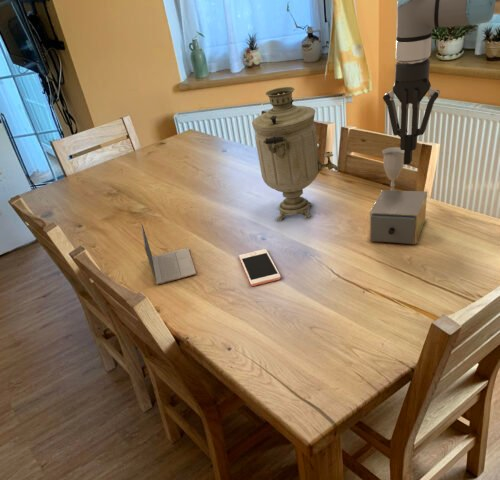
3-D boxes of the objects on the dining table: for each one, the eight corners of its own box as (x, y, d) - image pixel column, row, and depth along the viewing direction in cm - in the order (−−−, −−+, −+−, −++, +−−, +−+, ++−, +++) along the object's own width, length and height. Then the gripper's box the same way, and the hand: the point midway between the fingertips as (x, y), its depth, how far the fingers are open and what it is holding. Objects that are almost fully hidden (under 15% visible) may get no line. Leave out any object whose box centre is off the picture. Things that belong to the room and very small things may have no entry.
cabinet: (415, 244, 146) (417, 214, 140) (369, 241, 151) (369, 212, 145) (425, 220, 156) (427, 191, 150) (381, 218, 162) (382, 190, 156)
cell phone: (266, 251, 156) (265, 248, 155) (281, 279, 142) (281, 276, 141) (239, 257, 155) (238, 255, 154) (251, 286, 141) (251, 284, 140)
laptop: (196, 275, 151) (186, 237, 143) (156, 285, 149) (144, 247, 141) (188, 249, 165) (179, 213, 157) (151, 258, 164) (140, 222, 156)
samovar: (318, 237, 158) (309, 104, 133) (248, 229, 170) (227, 106, 145) (352, 198, 177) (349, 75, 152) (286, 193, 189) (274, 78, 164)
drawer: (412, 245, 144) (413, 221, 139) (369, 242, 149) (369, 218, 144) (421, 221, 154) (423, 197, 150) (381, 218, 159) (382, 195, 155)
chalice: (407, 202, 168) (409, 148, 157) (396, 210, 165) (398, 156, 154) (388, 198, 172) (389, 146, 161) (377, 206, 169) (377, 153, 158)
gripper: (445, 53, 113) (436, 157, 127) (387, 58, 118) (385, 156, 132) (440, 61, 108) (432, 168, 122) (380, 65, 113) (378, 167, 127)
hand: (407, 162), depth 127 cm, fingers closed
